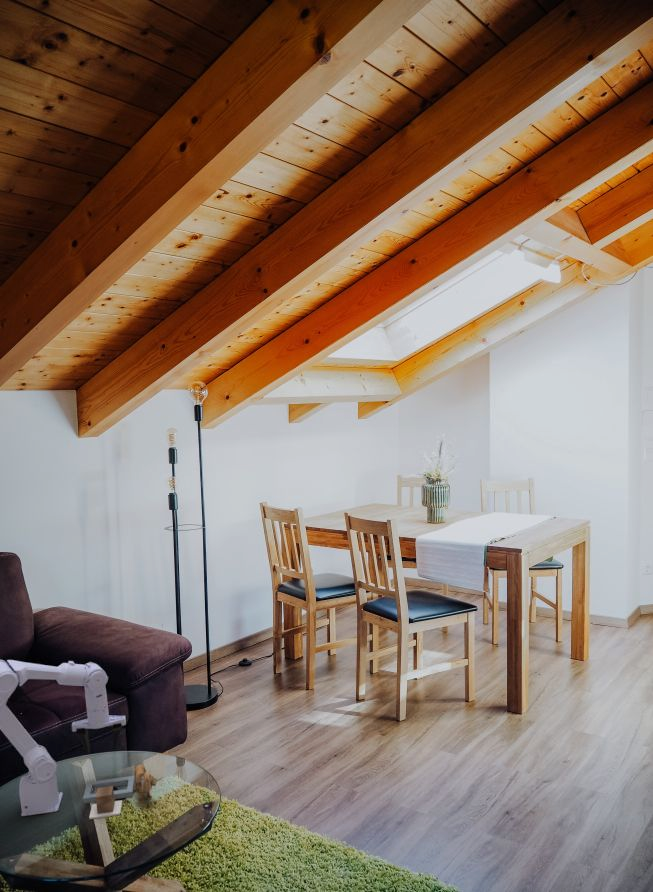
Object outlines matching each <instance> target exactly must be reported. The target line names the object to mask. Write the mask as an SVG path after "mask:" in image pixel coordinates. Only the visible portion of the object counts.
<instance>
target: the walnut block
mask: <svg viewBox="0 0 653 892" xmlns="http://www.w3.org/2000/svg"><path fill="white" fill-rule="evenodd" d="M96 790H97V791H96V793H97V794H96V802H95V804H97V813H98V814H100V813H107V812H113V809H114V804H115V801H116V799H114V791H115V790H114V787H113V786H108V787H101V788H98V789H96Z"/></svg>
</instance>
